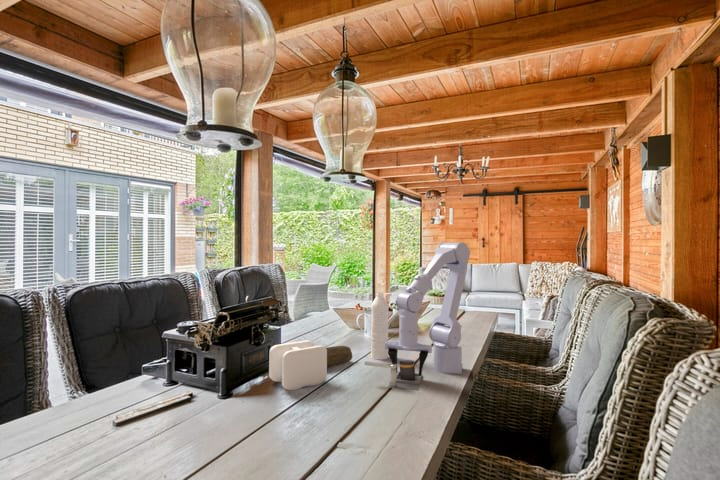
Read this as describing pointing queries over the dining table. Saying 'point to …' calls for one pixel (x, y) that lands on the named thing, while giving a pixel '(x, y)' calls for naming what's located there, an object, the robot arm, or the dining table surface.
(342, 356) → the brown cylinder
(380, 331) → the water bottle
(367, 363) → the brushed metal lever
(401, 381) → the socket
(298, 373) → the cable organizer
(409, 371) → the plug
